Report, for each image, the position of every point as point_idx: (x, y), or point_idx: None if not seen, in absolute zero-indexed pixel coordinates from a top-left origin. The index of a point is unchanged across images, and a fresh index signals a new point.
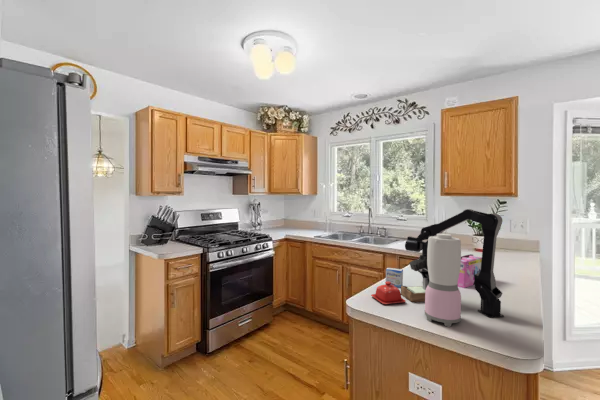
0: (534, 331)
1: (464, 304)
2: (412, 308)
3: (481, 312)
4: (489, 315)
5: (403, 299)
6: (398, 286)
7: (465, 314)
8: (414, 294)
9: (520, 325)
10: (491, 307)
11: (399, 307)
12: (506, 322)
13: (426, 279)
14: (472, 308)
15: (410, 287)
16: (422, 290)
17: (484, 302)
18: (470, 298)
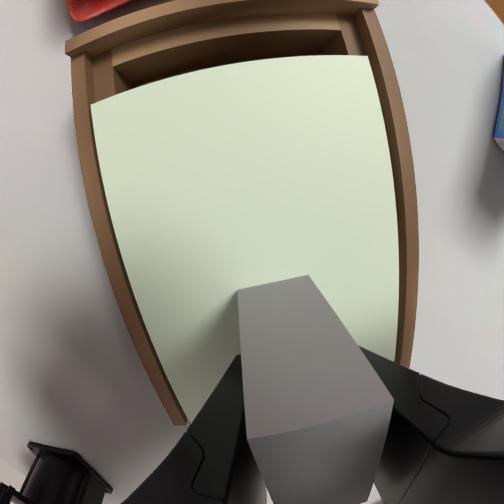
0: (7, 461)
1: (157, 457)
2: (4, 79)
3: (54, 450)
4: (34, 450)
5: (112, 3)
6: (501, 119)
7: (10, 383)
8: (75, 83)
9: (24, 465)
10: (29, 478)
11: (32, 2)
12: (22, 454)
13: (255, 449)
14: (107, 456)
15: (352, 93)
16: (210, 240)
17: (34, 487)
18: (267, 494)
